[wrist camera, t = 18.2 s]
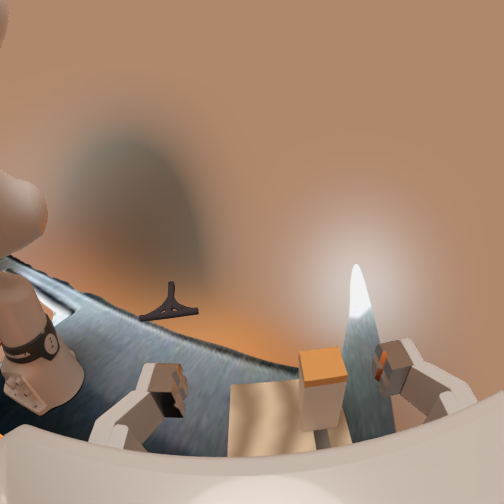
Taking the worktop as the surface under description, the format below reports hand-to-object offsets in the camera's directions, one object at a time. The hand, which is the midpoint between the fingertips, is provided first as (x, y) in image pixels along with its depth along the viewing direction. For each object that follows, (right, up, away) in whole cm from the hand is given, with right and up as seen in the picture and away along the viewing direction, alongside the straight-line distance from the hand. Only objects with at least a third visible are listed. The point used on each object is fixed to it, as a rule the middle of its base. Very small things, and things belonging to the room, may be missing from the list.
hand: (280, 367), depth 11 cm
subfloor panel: (+4, -21, +27) cm, 34 cm away
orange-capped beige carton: (+8, -19, +26) cm, 34 cm away
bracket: (-22, -8, +62) cm, 66 cm away
